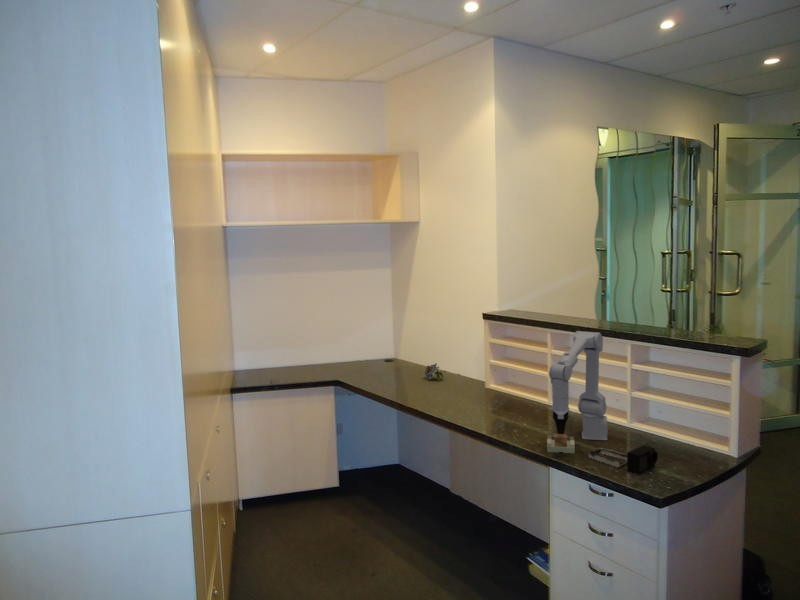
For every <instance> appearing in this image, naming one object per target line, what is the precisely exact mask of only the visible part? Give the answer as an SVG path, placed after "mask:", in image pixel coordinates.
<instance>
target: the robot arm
mask: <svg viewBox="0 0 800 600" xmlns="http://www.w3.org/2000/svg"><path fill="white" fill-rule="evenodd" d="M572 341H573V343H572V345H571V347H570V348H569V350H568V351H565V352H564V353H563V354H562V355H561V357H560V358H559V360H558V361H557V363H553V364H552V365H550V368H549V371H548V376H549V378H550V383H551V385H552V387H551V389H552V397H551V398H552V402H551V403H552V406H549V408H548V411H552V418H553V420H554V423H555V427H556V432H557V434H565V432H566V431H565V430H566V424H567V422H568V420H569V412H570V408H569V407H570V406H569V405H570V403H569V380H571V377H572V373H573V369H574V367H575V366H576V365H577V363H578V358H579V357H578V356H580V354H581V353H582V352H584V353H585V389H584V390H585V391H584V392H582V393H580V395H579V400H578V402H577V403H578V404H577V408H578V409H577V410H578V411H579V413H580V414H581V416H582V431H581V437H582V440H593V441H594V440H595V441H608V433H609V432H608V431H609V430H608V417H607V415H605V414H607V404H606V403H607V402H606V397H605V396H604V394H602V393H600V391H599V378H600V377H599V376H600V375H599V372H600V371H599V370H600V367H599V366H600V353H601V352H603V345H604V337H603V335H602V334H601V332H594V331H581V330H576V331H575V333H574V334H573V339H572Z"/></svg>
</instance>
